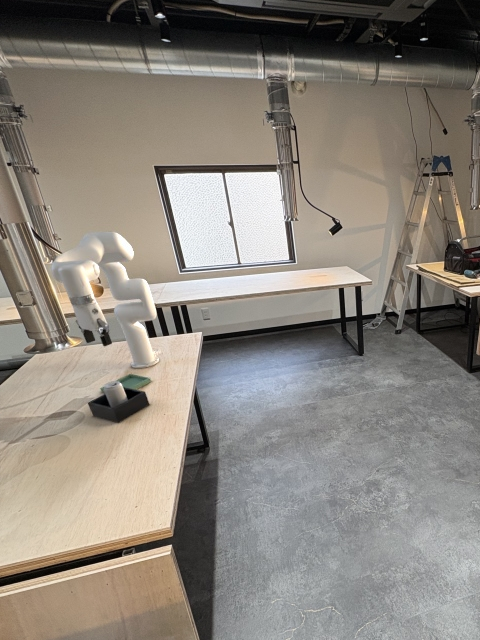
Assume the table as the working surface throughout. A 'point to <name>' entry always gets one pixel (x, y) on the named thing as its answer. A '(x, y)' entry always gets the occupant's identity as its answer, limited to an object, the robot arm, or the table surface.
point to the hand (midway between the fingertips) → (99, 343)
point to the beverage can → (115, 393)
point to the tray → (132, 381)
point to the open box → (119, 406)
